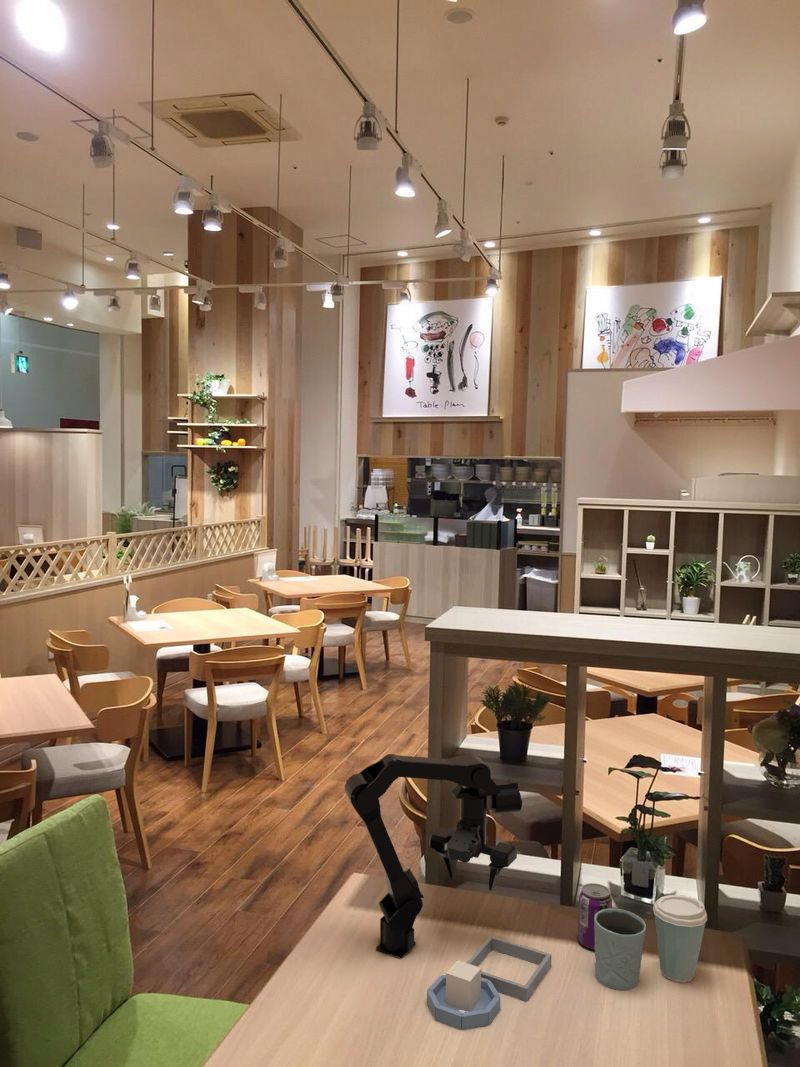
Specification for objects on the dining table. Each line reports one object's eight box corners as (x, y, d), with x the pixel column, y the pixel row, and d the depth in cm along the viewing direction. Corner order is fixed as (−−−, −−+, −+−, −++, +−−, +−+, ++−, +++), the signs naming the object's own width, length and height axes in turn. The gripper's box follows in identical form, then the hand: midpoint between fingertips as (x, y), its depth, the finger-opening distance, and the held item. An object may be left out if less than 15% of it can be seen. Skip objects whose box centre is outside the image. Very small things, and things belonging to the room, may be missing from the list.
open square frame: (462, 979, 169) (462, 967, 169) (489, 946, 181) (490, 935, 181) (526, 1001, 162) (527, 989, 162) (551, 966, 174) (551, 954, 174)
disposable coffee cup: (646, 980, 170) (649, 908, 169) (654, 953, 179) (656, 885, 178) (702, 994, 165) (704, 921, 164) (707, 966, 175) (710, 896, 174)
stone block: (445, 1003, 160) (446, 973, 159) (457, 989, 164) (457, 960, 164) (469, 1012, 157) (470, 981, 157) (480, 997, 162) (481, 967, 161)
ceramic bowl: (417, 1013, 158) (417, 1000, 158) (448, 978, 169) (448, 966, 169) (480, 1036, 152) (480, 1023, 152) (508, 998, 163) (508, 986, 163)
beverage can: (611, 954, 179) (613, 899, 178) (577, 950, 180) (579, 896, 179) (610, 936, 186) (611, 884, 185) (577, 932, 187) (578, 880, 186)
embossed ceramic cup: (591, 961, 176) (593, 905, 176) (641, 966, 174) (643, 911, 174) (593, 989, 166) (595, 931, 166) (646, 996, 165) (648, 937, 164)
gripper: (417, 818, 180) (416, 889, 181) (498, 838, 171) (496, 912, 172) (441, 801, 190) (440, 868, 191) (518, 819, 181) (516, 889, 182)
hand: (471, 884), depth 184 cm, fingers open, 9 cm apart
